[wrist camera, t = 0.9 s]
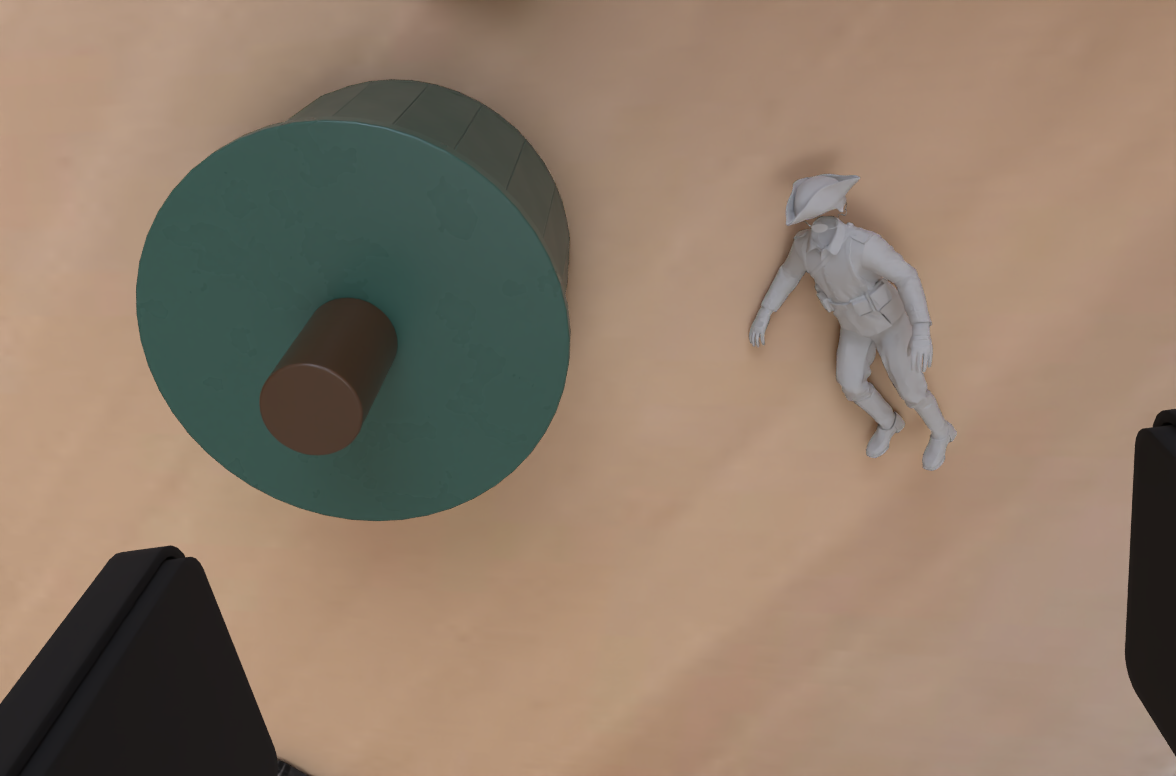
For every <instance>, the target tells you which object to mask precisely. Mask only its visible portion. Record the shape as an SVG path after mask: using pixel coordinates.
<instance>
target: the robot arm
mask: <svg viewBox="0 0 1176 776" xmlns="http://www.w3.org/2000/svg"><path fill="white" fill-rule="evenodd" d="M1125 660H1126V666H1127V671H1128V675H1129V678H1130V681H1131V683H1132V686H1133V688H1134V690H1135V692H1136V694H1137V695H1138V697H1139V699H1140V700H1141V702H1142V703H1143V705H1144V707H1145V708H1146V710H1147V711H1148V713H1149V715H1150V716H1151V718H1152V719H1153V721H1154V723H1155V724H1156V726H1157V727H1158V729H1159V730H1160V732H1161V734H1162V735H1163V737H1164V738H1165V740H1166V742H1167V743H1168V745H1169V746H1170V748H1171V750H1172V751H1173V753H1174V754H1175V756H1176V409H1171V410H1164V411H1161V412H1160V413H1159V414H1158V415H1157V416H1156V419H1155V421H1154V423H1153V427H1152V428H1144V429H1141V430H1140V431H1139V432H1138V434H1137V437H1136V442H1135V456H1134V476H1133V497H1132V517H1131V538H1130V558H1129V579H1128V600H1127V620H1126V641H1125ZM277 774H278V762H277V755H276V751H275V748H274V745H273V743H272V740H271V738H270V735H269V733H268V730H267V728H266V725H265V723H264V720H263V718H262V715H261V713H260V710H259V707H258V705H257V702H256V700H255V697H254V695H253V692H252V690H251V687H250V685H249V682H248V680H247V677H246V675H245V672H244V670H243V667H242V665H241V662H240V660H239V657H238V655H237V652H236V650H235V647H234V645H233V642H232V640H231V637H230V635H229V632H228V630H227V627H226V624H225V622H224V619H223V617H222V614H221V612H220V609H219V607H218V604H217V602H216V599H215V597H214V594H213V592H212V589H211V587H210V584H209V582H208V579H207V577H206V574H205V572H204V569H203V567H202V566H201V564H200V562H199V561H198V560H197V559H196V558H193V557H185V556H184V554H183V553H182V552H181V551H180V550H179V549H178V548H177V547H174V546H164V547H157V548H149V549H142V550H134V551H127V552H121V553H117V554H115V555H114V556H113V557H112V558H111V559H110V560H109V561H108V562H107V564H106V565H105V566H104V568H103V569H102V570H101V572H100V573H99V574H98V576H97V577H96V578H95V580H94V581H93V582H92V584H91V585H90V586H89V588H88V589H87V590H86V592H85V593H84V594H83V595H82V597H81V598H80V599H79V601H78V602H77V603H76V605H75V606H74V607H73V609H72V610H71V611H70V613H69V614H68V615H67V617H66V618H65V619H64V621H63V622H62V623H61V625H60V626H59V627H58V628H57V630H56V631H55V632H54V634H53V635H52V636H51V638H50V639H49V640H48V642H47V643H46V644H45V646H44V647H43V648H42V650H41V651H40V652H39V654H38V655H37V656H36V658H35V659H34V660H33V661H32V663H31V664H30V665H29V667H28V668H27V669H26V671H25V672H24V673H23V675H22V676H21V677H20V679H19V680H18V681H17V683H16V684H15V685H14V687H13V688H12V689H11V691H10V692H9V693H8V694H7V696H6V697H5V698H4V700H3V701H2V702H1V704H0V776H277Z"/></svg>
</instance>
